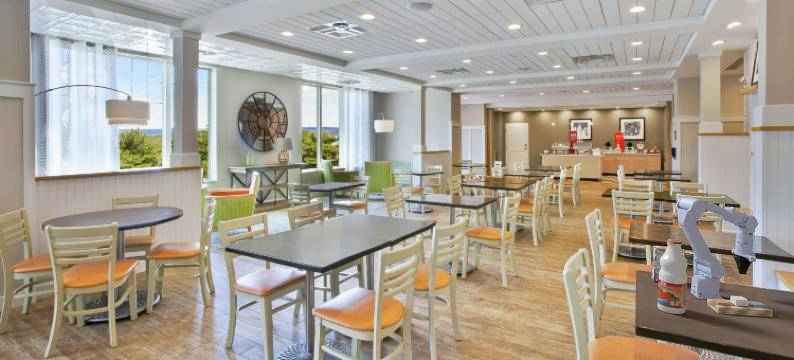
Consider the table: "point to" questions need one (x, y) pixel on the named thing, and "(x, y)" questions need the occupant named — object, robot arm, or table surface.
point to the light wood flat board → (740, 309)
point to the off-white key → (739, 301)
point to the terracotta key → (721, 302)
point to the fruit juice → (672, 279)
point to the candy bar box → (657, 261)
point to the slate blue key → (756, 304)
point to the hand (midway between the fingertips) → (742, 273)
